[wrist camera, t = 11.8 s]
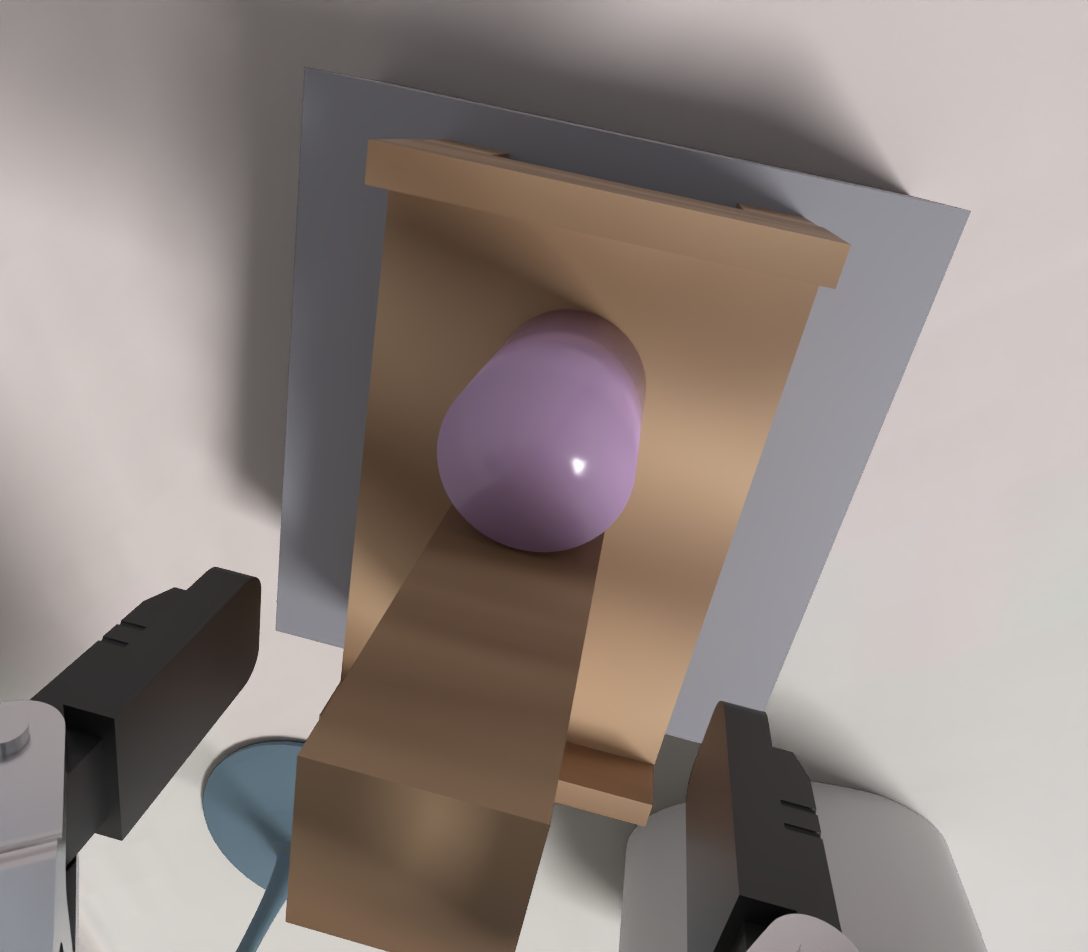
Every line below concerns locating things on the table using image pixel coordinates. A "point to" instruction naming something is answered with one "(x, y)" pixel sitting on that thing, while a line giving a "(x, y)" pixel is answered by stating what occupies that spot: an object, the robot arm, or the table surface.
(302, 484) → the plain gray square box
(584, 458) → the lilac rounded capsule
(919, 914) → the lumpy-topped squat cylinder
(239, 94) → the table surface
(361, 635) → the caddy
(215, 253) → the table surface
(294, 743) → the cocktail glass
